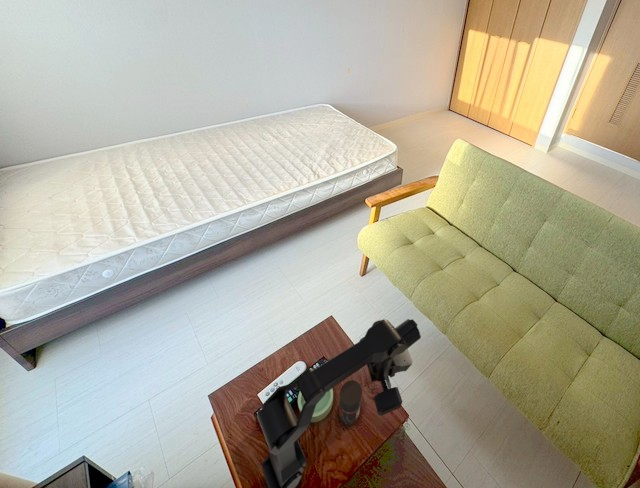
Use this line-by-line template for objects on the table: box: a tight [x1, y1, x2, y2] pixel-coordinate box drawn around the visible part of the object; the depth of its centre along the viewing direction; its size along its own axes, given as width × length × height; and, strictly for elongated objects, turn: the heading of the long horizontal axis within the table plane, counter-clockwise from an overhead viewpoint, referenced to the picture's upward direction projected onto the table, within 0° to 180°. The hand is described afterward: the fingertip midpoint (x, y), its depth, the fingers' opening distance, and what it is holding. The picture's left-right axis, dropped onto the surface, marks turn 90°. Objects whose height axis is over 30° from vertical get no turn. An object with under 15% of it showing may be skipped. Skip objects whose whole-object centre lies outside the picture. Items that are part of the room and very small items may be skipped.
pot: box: [297, 388, 334, 423], centre depth 90 cm, size 10×10×4 cm
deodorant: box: [338, 379, 363, 426], centre depth 86 cm, size 6×6×15 cm
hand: (376, 384), depth 84 cm, fingers open, 9 cm apart
